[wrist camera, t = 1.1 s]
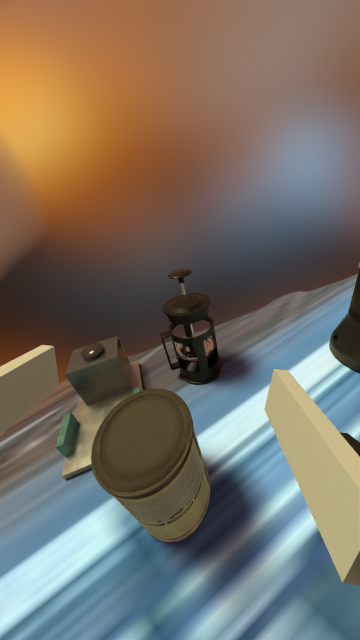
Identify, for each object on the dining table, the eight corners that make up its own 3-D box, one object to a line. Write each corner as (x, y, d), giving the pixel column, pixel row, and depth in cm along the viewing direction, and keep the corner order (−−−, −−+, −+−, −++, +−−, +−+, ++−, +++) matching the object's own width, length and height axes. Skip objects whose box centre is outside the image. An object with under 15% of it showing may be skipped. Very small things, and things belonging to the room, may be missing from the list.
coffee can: (121, 507, 26) (69, 454, 19) (165, 435, 33) (139, 378, 26) (186, 572, 20) (146, 531, 13) (223, 469, 27) (210, 406, 20)
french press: (214, 349, 49) (199, 258, 38) (231, 374, 41) (219, 269, 29) (169, 364, 48) (141, 274, 36) (178, 393, 40) (145, 290, 28)
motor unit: (140, 363, 50) (125, 328, 45) (152, 442, 32) (130, 399, 27) (84, 383, 48) (61, 349, 43) (64, 480, 30) (19, 441, 25)
